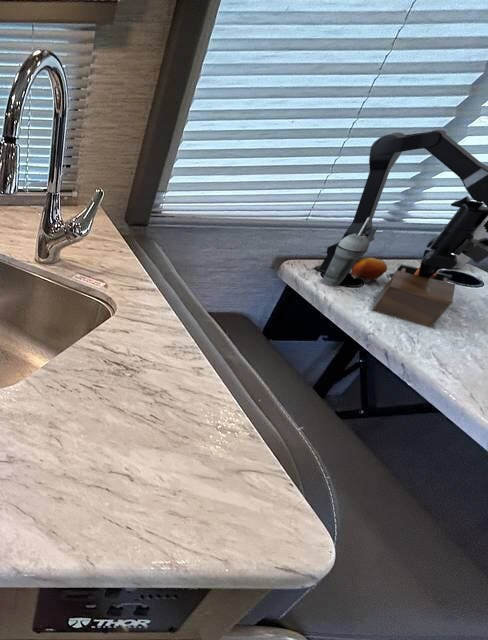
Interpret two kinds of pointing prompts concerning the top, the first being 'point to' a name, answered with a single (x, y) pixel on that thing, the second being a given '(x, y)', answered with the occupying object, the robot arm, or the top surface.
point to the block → (429, 277)
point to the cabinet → (415, 298)
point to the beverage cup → (346, 257)
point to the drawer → (413, 269)
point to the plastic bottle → (477, 235)
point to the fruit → (368, 269)
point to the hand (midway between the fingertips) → (419, 280)
